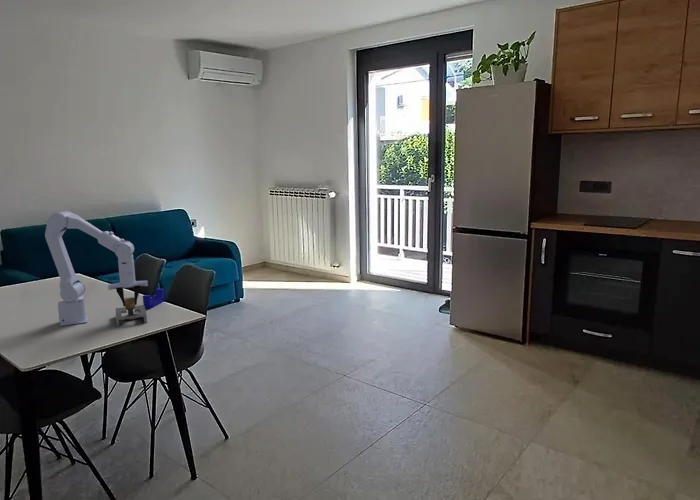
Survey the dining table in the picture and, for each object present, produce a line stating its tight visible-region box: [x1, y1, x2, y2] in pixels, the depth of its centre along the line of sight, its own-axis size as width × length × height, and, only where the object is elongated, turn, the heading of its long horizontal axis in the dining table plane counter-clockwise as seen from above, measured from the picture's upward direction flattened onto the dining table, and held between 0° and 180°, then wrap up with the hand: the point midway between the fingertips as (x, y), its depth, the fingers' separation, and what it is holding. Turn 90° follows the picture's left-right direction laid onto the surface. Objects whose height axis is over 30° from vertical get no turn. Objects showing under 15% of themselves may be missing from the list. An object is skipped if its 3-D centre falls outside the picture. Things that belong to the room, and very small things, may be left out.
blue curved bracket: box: [142, 288, 166, 310], centre depth 224 cm, size 12×4×6 cm, turn 170°
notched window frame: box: [115, 304, 148, 328], centre depth 204 cm, size 11×14×3 cm
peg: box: [124, 296, 138, 321], centre depth 205 cm, size 5×5×8 cm
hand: (129, 304), depth 204 cm, fingers closed on peg, 4 cm apart
